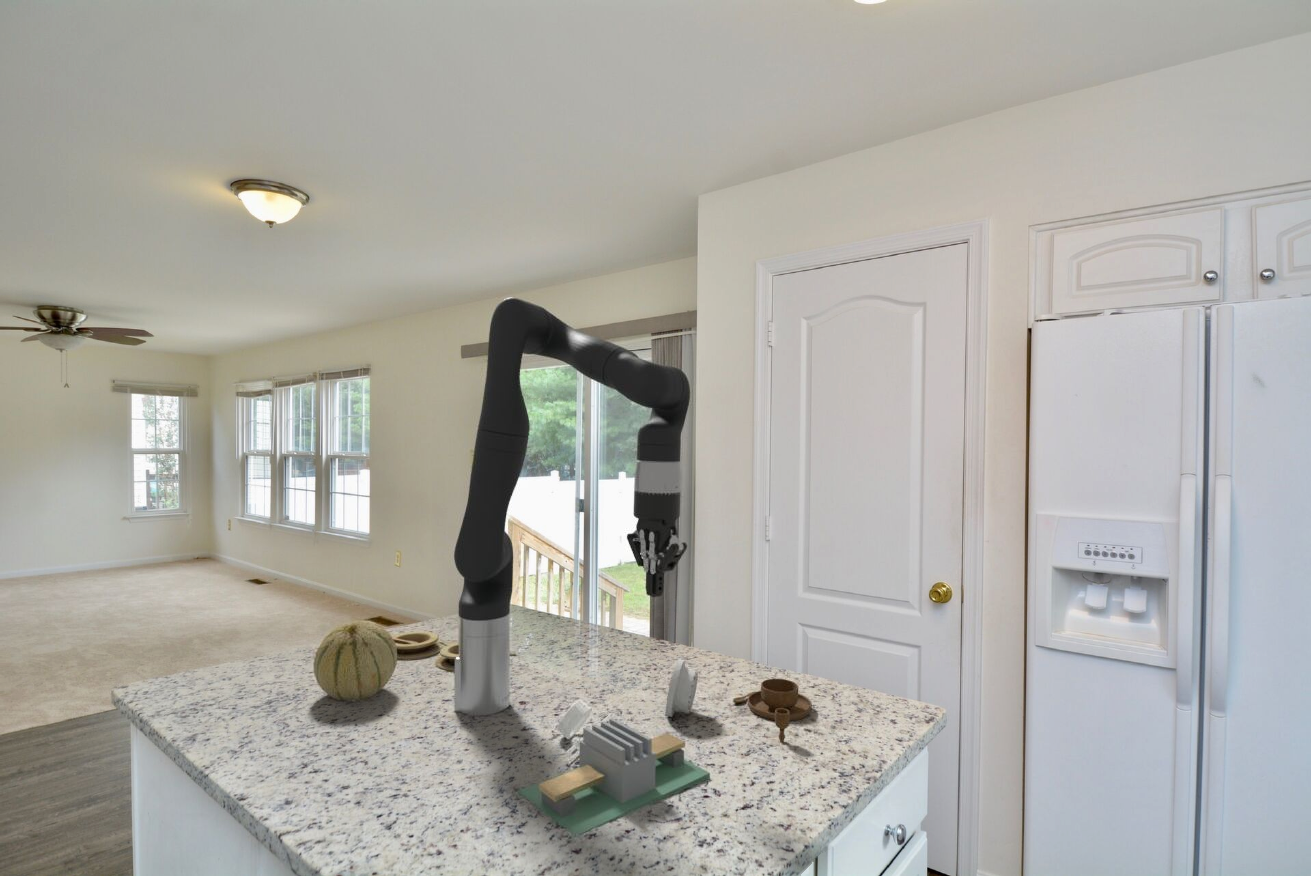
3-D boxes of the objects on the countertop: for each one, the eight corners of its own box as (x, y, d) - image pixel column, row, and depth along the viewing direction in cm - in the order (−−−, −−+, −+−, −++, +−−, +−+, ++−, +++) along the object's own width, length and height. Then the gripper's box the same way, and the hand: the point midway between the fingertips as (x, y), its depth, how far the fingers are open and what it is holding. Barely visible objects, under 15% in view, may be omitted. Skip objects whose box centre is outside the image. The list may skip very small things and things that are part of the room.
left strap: (555, 802, 90) (555, 796, 90) (539, 789, 93) (539, 783, 93) (604, 781, 95) (604, 775, 95) (587, 770, 98) (587, 764, 98)
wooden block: (645, 764, 100) (645, 758, 100) (627, 754, 103) (627, 748, 103) (685, 746, 105) (685, 741, 105) (667, 737, 108) (667, 732, 108)
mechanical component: (671, 701, 131) (680, 651, 130) (693, 707, 130) (703, 657, 129) (660, 724, 121) (670, 669, 121) (685, 730, 120) (695, 675, 120)
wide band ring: (575, 702, 125) (592, 675, 123) (617, 740, 122) (635, 712, 120) (519, 745, 108) (539, 713, 107) (566, 789, 105) (587, 758, 104)
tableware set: (518, 656, 159) (518, 630, 159) (459, 684, 142) (459, 655, 142) (421, 637, 172) (421, 614, 172) (357, 661, 155) (357, 635, 155)
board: (575, 847, 86) (575, 780, 86) (518, 801, 96) (518, 741, 96) (709, 782, 102) (710, 725, 102) (647, 748, 112) (648, 697, 112)
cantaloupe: (388, 678, 143) (388, 606, 142) (405, 702, 130) (405, 623, 130) (308, 693, 134) (308, 616, 134) (319, 720, 122) (319, 636, 122)
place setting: (837, 712, 128) (838, 681, 128) (788, 752, 113) (789, 717, 113) (755, 690, 139) (755, 661, 139) (699, 723, 123) (700, 691, 123)
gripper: (702, 491, 108) (699, 601, 109) (649, 484, 119) (646, 584, 119) (666, 493, 104) (662, 608, 104) (614, 486, 114) (611, 590, 114)
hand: (654, 595), depth 111 cm, fingers closed
